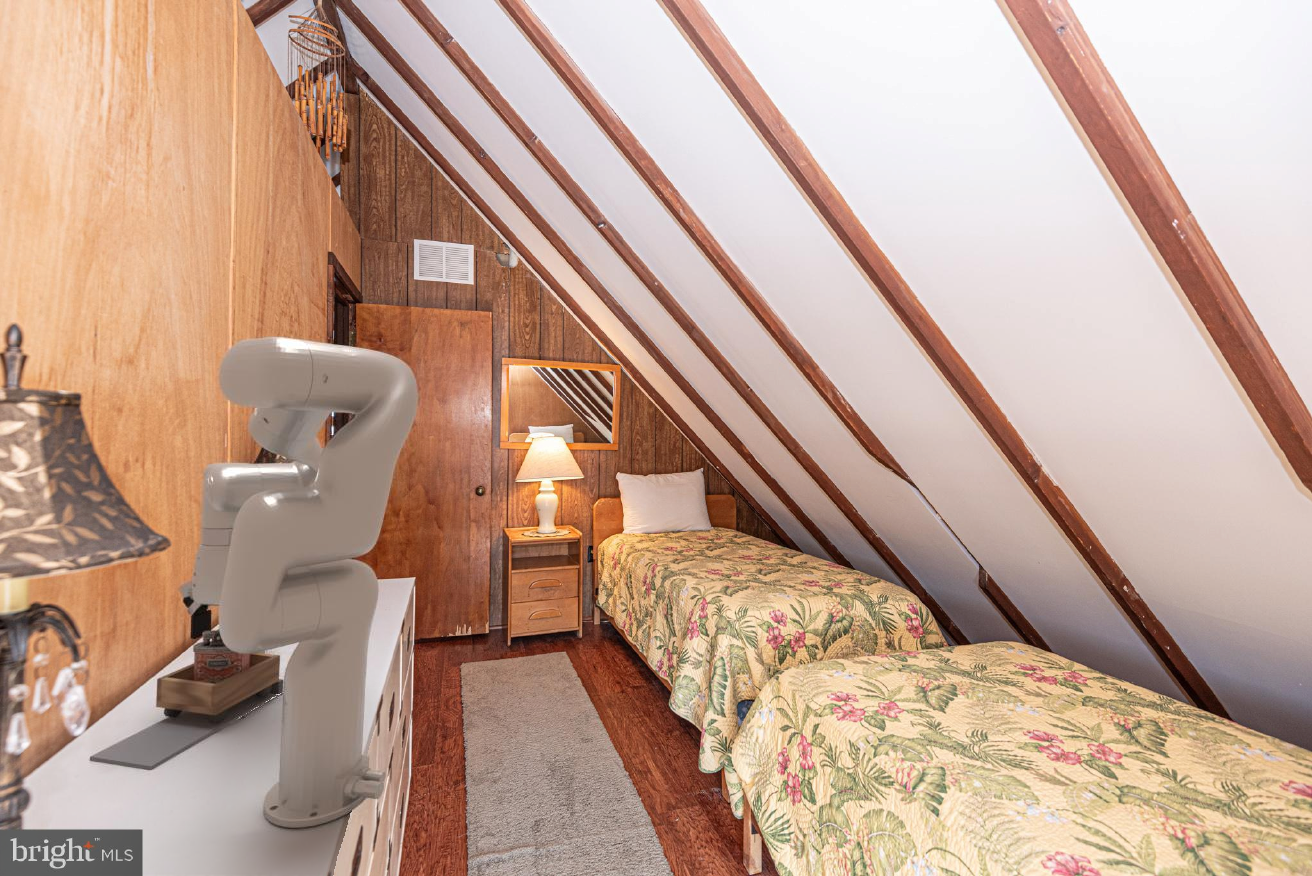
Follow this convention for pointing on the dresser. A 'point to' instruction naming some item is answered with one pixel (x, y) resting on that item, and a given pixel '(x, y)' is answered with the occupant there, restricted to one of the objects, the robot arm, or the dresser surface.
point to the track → (175, 735)
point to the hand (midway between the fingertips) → (226, 638)
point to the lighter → (216, 659)
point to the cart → (216, 688)
